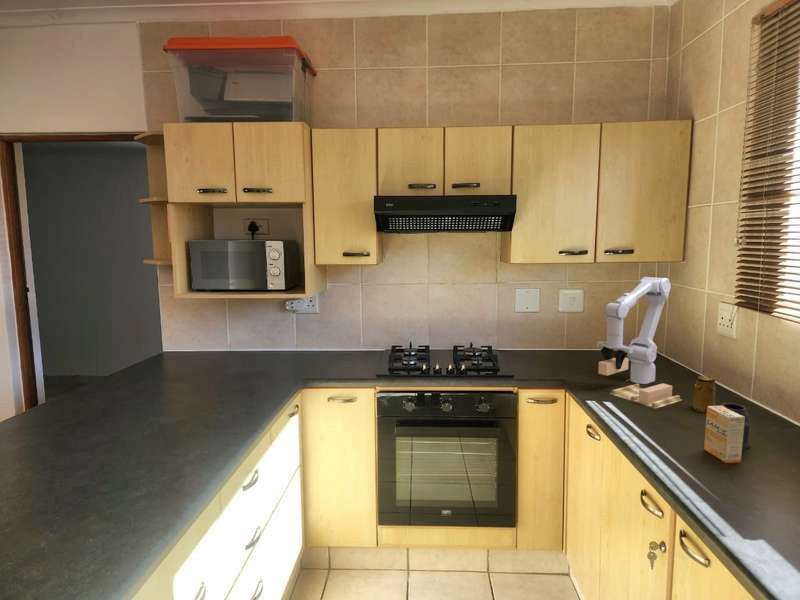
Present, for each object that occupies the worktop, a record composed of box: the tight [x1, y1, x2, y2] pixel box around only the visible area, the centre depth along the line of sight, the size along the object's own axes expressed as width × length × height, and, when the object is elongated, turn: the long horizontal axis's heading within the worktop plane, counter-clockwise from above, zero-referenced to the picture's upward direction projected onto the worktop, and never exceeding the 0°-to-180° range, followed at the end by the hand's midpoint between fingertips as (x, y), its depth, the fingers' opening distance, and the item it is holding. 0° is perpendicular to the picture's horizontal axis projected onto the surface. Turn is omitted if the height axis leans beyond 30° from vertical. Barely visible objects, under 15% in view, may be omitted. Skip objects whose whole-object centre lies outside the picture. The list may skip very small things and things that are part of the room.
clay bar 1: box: [597, 357, 630, 376], centre depth 185 cm, size 14×4×4 cm, turn 122°
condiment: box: [692, 375, 716, 414], centre depth 160 cm, size 7×8×12 cm
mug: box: [721, 402, 751, 451], centre depth 135 cm, size 12×9×11 cm
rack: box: [609, 383, 682, 409], centre depth 175 cm, size 16×18×2 cm
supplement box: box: [703, 405, 745, 464], centre depth 129 cm, size 8×5×13 cm, turn 5°
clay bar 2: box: [639, 383, 673, 405], centre depth 172 cm, size 14×4×4 cm, turn 119°
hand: (613, 367), depth 185 cm, fingers closed on clay bar 1, 4 cm apart
